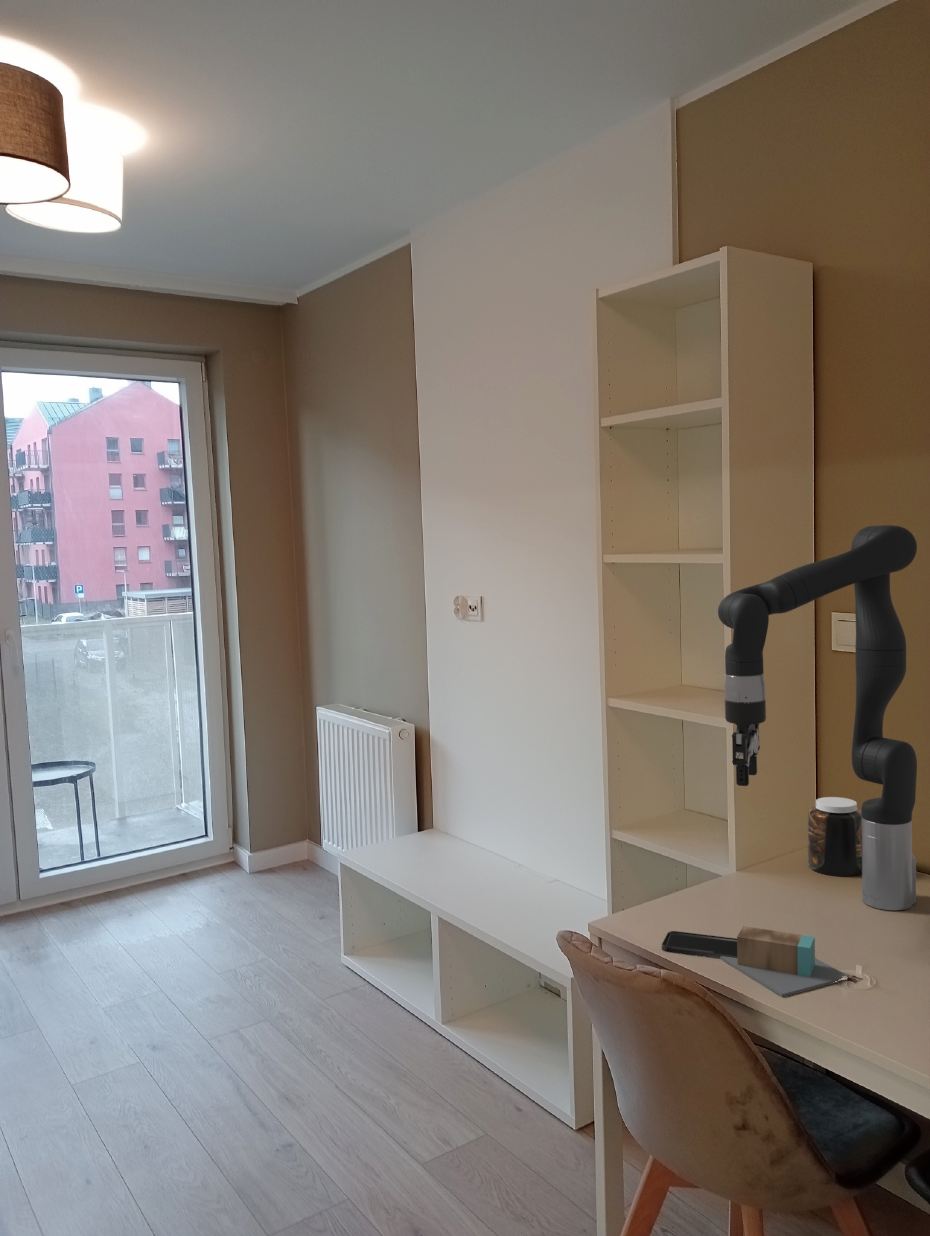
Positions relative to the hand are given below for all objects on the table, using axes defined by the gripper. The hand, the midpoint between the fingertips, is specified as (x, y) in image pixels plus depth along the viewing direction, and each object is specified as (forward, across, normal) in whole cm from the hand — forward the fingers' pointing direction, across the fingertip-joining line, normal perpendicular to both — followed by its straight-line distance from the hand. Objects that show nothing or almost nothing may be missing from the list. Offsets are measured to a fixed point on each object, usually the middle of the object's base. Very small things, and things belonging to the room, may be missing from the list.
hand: (747, 779), depth 185 cm
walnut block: (+24, -20, -2) cm, 32 cm away
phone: (+28, -17, +5) cm, 33 cm away
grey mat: (+27, -21, -9) cm, 35 cm away
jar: (+28, +35, -12) cm, 46 cm away
